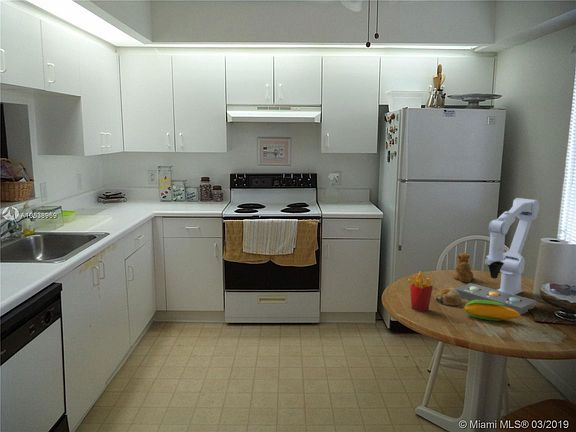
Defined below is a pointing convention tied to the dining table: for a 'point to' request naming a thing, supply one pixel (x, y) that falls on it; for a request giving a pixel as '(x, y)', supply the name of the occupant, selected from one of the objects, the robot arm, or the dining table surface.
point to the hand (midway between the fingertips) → (494, 277)
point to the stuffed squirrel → (463, 268)
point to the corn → (489, 310)
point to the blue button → (514, 299)
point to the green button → (474, 288)
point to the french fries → (420, 292)
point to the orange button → (494, 294)
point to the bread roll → (448, 296)
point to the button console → (502, 298)
